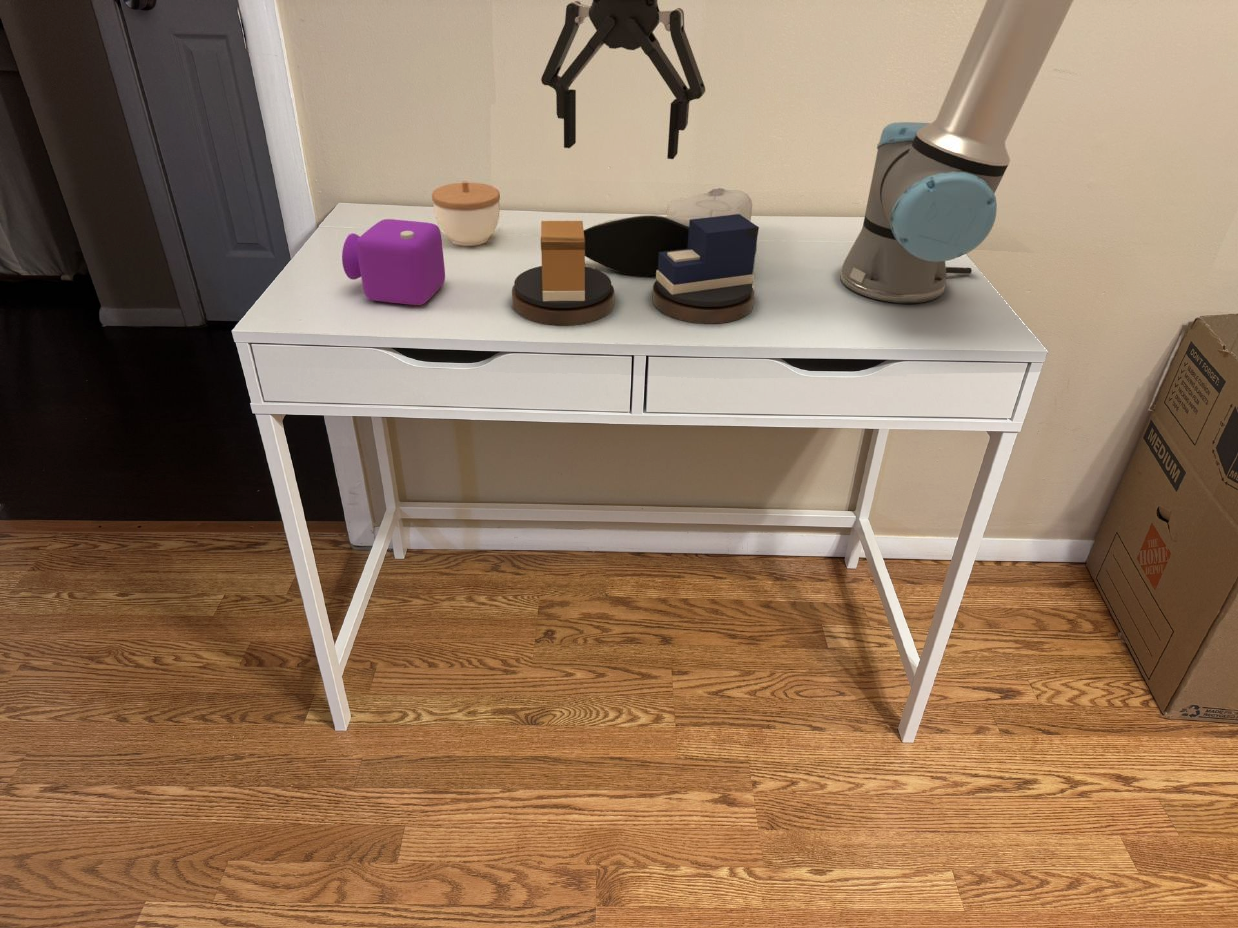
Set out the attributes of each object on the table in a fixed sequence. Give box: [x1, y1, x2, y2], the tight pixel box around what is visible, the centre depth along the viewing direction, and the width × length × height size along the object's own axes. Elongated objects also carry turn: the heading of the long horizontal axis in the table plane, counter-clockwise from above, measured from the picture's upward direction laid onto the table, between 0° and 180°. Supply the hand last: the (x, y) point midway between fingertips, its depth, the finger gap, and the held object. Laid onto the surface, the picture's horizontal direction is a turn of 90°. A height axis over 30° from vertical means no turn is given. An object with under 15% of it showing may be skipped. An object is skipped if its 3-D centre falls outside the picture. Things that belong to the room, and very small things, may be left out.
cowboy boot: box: [583, 187, 758, 278], centre depth 134 cm, size 10×28×25 cm
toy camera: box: [341, 218, 446, 306], centre depth 117 cm, size 11×14×10 cm
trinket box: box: [431, 180, 501, 247], centre depth 135 cm, size 11×11×9 cm
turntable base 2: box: [652, 280, 755, 325], centre depth 119 cm, size 14×14×2 cm
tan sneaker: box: [513, 220, 612, 308], centre depth 114 cm, size 14×14×9 cm
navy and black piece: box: [655, 214, 760, 307], centre depth 116 cm, size 14×14×9 cm
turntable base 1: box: [511, 283, 615, 326], centre depth 118 cm, size 14×14×2 cm
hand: (620, 151), depth 107 cm, fingers open, 13 cm apart
